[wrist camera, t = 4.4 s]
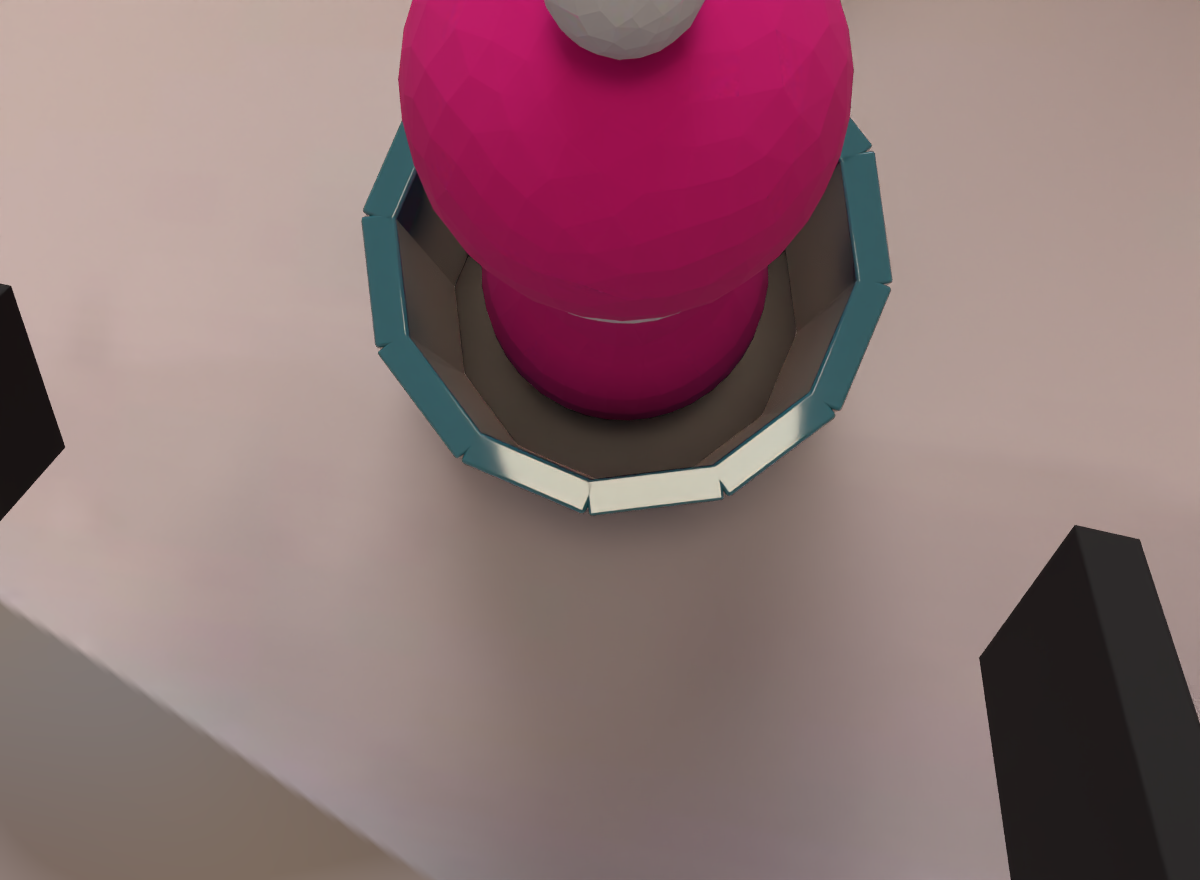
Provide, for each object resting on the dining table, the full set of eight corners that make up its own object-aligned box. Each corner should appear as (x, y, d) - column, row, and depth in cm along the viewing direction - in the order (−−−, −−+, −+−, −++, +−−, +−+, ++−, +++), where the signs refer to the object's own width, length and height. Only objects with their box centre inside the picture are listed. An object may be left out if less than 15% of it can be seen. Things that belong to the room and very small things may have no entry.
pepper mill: (795, 310, 29) (1189, -89, 9) (623, 479, 29) (620, 470, 9) (626, 142, 29) (629, -612, 9) (455, 308, 29) (77, -84, 9)
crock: (897, 346, 29) (993, 298, 21) (586, 581, 28) (572, 616, 21) (662, 44, 29) (674, -108, 22) (356, 273, 29) (263, 200, 22)
